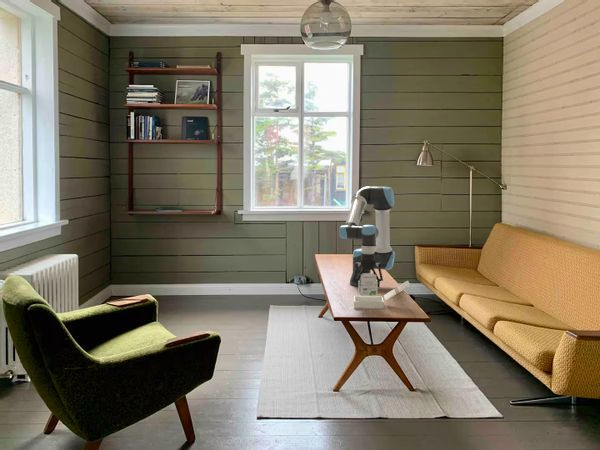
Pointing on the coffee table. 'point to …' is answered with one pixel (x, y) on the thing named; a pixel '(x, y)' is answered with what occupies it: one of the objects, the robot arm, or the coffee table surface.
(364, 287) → the ink box
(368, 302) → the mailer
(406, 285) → the lid
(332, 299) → the coffee table surface
